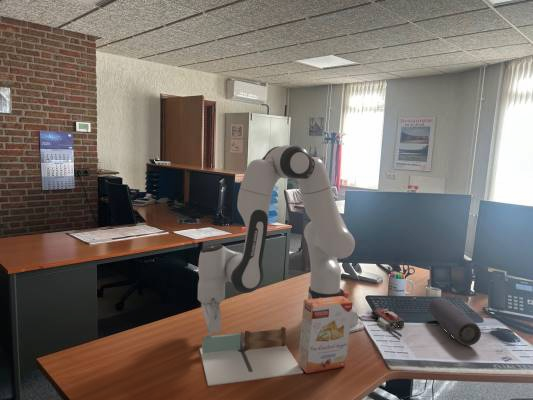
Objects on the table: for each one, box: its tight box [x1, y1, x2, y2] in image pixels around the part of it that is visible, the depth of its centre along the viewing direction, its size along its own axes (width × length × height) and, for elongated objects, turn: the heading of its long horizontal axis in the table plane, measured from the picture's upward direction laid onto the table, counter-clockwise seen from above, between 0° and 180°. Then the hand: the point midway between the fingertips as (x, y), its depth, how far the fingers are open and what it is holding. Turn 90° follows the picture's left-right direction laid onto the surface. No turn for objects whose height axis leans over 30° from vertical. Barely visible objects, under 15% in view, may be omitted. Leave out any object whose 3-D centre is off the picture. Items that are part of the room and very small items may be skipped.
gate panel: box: [201, 331, 245, 353], centre depth 123 cm, size 13×1×6 cm, turn 106°
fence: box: [243, 326, 287, 351], centre depth 127 cm, size 14×2×6 cm, turn 106°
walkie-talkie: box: [371, 308, 405, 337], centre depth 148 cm, size 9×4×20 cm
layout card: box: [199, 342, 304, 387], centre depth 119 cm, size 28×20×1 cm
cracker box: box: [297, 296, 353, 375], centre depth 116 cm, size 14×6×21 cm, turn 114°
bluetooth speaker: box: [428, 296, 482, 346], centre depth 143 cm, size 23×9×10 cm, turn 0°
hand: (210, 333), depth 129 cm, fingers closed
